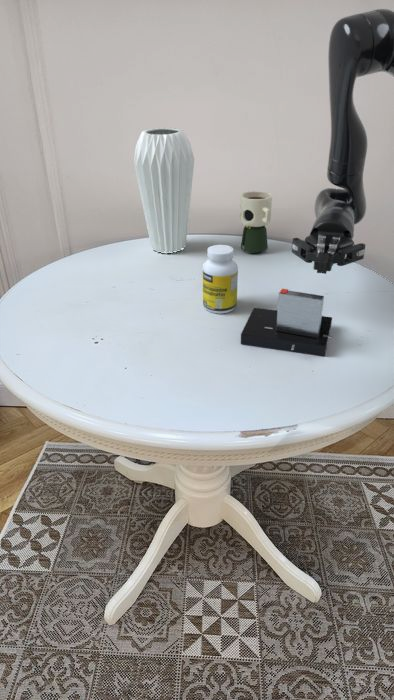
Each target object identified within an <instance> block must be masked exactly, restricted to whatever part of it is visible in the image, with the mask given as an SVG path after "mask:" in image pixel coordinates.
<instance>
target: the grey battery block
mask: <svg viewBox="0 0 394 700" xmlns="http://www.w3.org/2000/svg"><path fill="white" fill-rule="evenodd" d="M277 297H278V299H277V310H278V311H277V325H276V331H280V332H285V333H291V334H296V335H302V336H307V337H313V338H318V336H319V334H320V327H321V318H322V316H323V310H324V309H323V308H324V302H325V301H324V300H325V295H321V294H313V293H307V292H301V291H294V290H289V289H288V288H281V289H280V291H279V292H278V296H277Z"/></svg>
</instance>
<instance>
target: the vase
mask: <svg viewBox="0 0 394 700" xmlns="http://www.w3.org/2000/svg"><path fill="white" fill-rule="evenodd" d="M134 149H135V150H134V157H133V165H134V170H135V171H134V172H135V175H136V181H137V186H138V189H139V195H140V200H141V205H142V209H143V210H142V211H143V214H144V218H145V219H144V220H145V224H146V228H147V233H148V239H149V243H150V247H151V249H152V248H153V250H156V251H161V252H164V251H165V252H166V253H167V252H169V251H170V252H173V251H177V250H181V248H184V246H187V245H186V244H187V237H188V226H189V218H190V217H189V216H190V206H191V196H192V188H193V187H192V186H193V177H194V169H195V167H194V166H195V165H194V164H195V157H194V156H195V155H194V152H193V149H192V145H191V142H190V140H189V138H188V137H187V135H186V134H185V132H184V130H183V129H181V128H176V127H175V128H172V127H157V128H149V129H146V130H143V131H141V133H140V135H139V138H138V139H137V142H136V144H135V148H134ZM153 250H152V251H153Z"/></svg>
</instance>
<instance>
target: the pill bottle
mask: <svg viewBox="0 0 394 700" xmlns="http://www.w3.org/2000/svg"><path fill="white" fill-rule="evenodd" d="M206 254H207V260H205V261H204V263H203V265H202V306H203V308H204V309H205V310H206V311H208V312H210V313H213V314H227V313H230V312H232V311H234V310H235V309H236V307H237V304H238V279H239V266H238V263H237V262H236V261H235V260H234V257H235V256H234V248H233V246H231V245H229V244H228V245H227V244H214V245H210V246H209V247H207V253H206Z"/></svg>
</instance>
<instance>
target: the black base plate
mask: <svg viewBox="0 0 394 700" xmlns="http://www.w3.org/2000/svg"><path fill="white" fill-rule="evenodd" d="M277 311H278V309H269V308H261V307H255V306H254V307H253V309H252V310H251V312H250V315H249V316H248V319H247V320H246V323H245V325H244V326H243V329H242V331H241V333H240V345H245V346H251V347H257V348H264V349H271V350H278V351H284V352H285V351H286V352H292V353H299V354H305V355H313V356H320V357H326V353H327V348H328V343H329V339H332V338H333V335H331V330H332V324H333V317H331V316H326V315H325V316H324V315H322V318H321V327H320V334H319V336H318V338H313V337H307V336H302V335H296V334H291V333H285V332H280V331H276V325H277Z"/></svg>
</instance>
